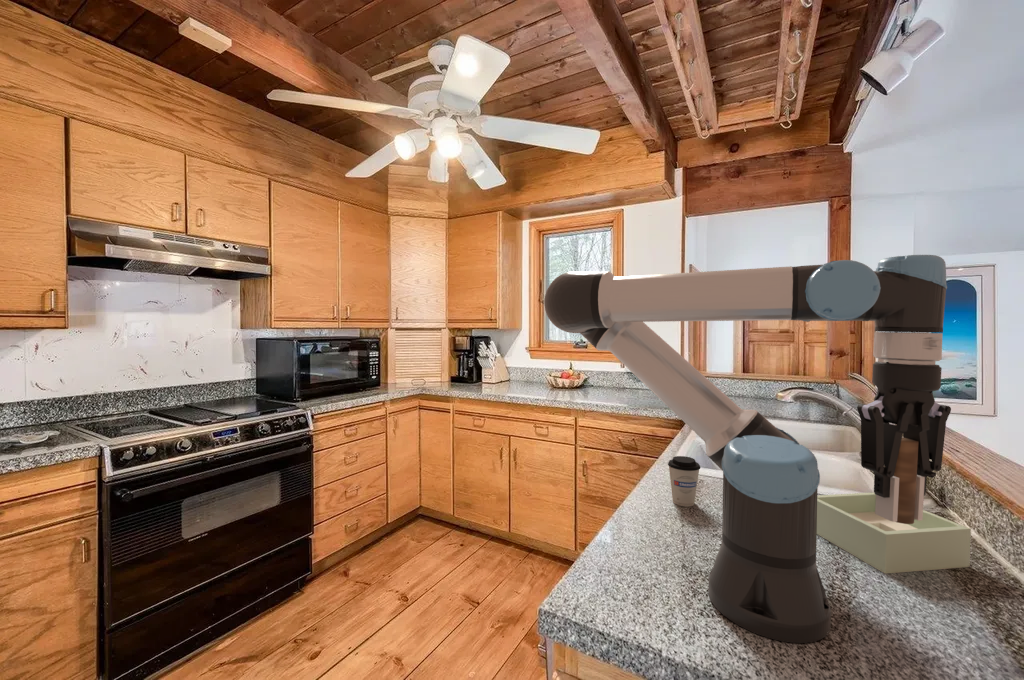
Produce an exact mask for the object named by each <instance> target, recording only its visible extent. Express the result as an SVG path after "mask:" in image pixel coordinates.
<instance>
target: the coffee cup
mask: <svg viewBox="0 0 1024 680" xmlns="http://www.w3.org/2000/svg"><path fill="white" fill-rule="evenodd" d="M667 465H668V469H669V470H668V471H669V478H670V488H671V489H670V490H671V497H672V502H673V503H674V504H675V505H677V506H679V507H680V506H681V507H686V508H687V507H689V508H690V507H693V506H695V501H696V494H697V488H698V487H697V486H698V481H699V475H700V474H699V472H700V469H701V465H700V463H699V462H696V459H695V458H694V457H690V456H684V455H678V456H677V455H676V456H673V457H672V459H669V461H668V463H667Z"/></svg>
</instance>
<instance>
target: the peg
mask: <svg viewBox="0 0 1024 680" xmlns="http://www.w3.org/2000/svg"><path fill="white" fill-rule="evenodd" d="M918 443H919V442H918V441H915V440H912V439H908V438H904V437H903V436H902V440H901V444H900V449H899V454H898V459H897V463H896V468H895V473H894V476H895V477H898V478H899V496H898V516H897V522H898V523H903V524H913V523H914V516H915V498H916V479H917V461H918Z"/></svg>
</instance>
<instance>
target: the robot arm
mask: <svg viewBox="0 0 1024 680" xmlns="http://www.w3.org/2000/svg"><path fill="white" fill-rule="evenodd" d="M947 289H948V285H947V266H946V261H945V259H944V258H943V257H941V256H940V255H935V254H908V255H900V256H899V255H898V256H891V257H890V256H889V257H884V258H883V259H880V260H879V261H878V262H877V267H876V268H875V270H873V269H872V268H871V267H869V265H867V264H864V263H862V262H860V261H856V260H853V259H852V260H850V259H842V260H832V261H829V262H826V263H823V264H811V265H800V266H790V265H789V266H776V267H775V266H774V267H760V268H759V267H758V268H744V269H743V268H742V269H726V270H724V269H723V270H710V271H707V270H706V271H694V272H693V271H692V272H676V273H675V272H674V273H661V274H659V273H658V274H643V275H629V276H625V275H624V276H615V275H614V274H613V273H612V272H611V271H606V270H605V271H578V270H577V271H576V270H572V271H568V272H567V271H566V272H564V273H561V274H560V275H558V276H557V277H556V278H555V279H553V280H552V282H550V284H549V286H548V288H547V289H546V292H545V295H544V299H543V301H544V303H543V305H544V311H545V314H546V316H547V318H548V319H549V321H550V322H551V323H552V325H554V326H555V327H556V328H558V329H559V330H560V331H564V332H566V333H569V334H580V335H581V336H582V337H583V338H584V339H586V341H587V342H589V343H590V345H592V346H593V347H594V348H595V350H597V351H605V352H606V351H608V352H610V353H611V354H612V355H613V356H614V357H615V358H616V359H617V360H618V361H619V362H620V363H621V364H623V365H624V366H625V367H626V368H627V369H628V370H629V371H630V372H631V373H632V374H633V375H634V376H635V377H636V378H638V380H639V381H641V383H642V384H644V385H645V387H647V389H649V390H650V391H651V392H652V393H653V394H654V395H655V396H656V397H657V398H658V399H659V400H661V402H663V404H664V405H665V406H667V407H668V408H669V409H670V411H672V412H673V413H674V414H675V415H676V416H677V417H678V418H679V419H680V420H681V421H683V423H684V424H685V425H686V426H688V427H689V428H690V429H691V430H692V431H693V432H694V433H695V434H696V435H697V436H698V437H699V438H700V439H701V440H702V441H704V444H705V455H706V456H707V457H708V458H709V459H710V461H712V462H713V463H714V464H715V465H716V466H717V467H718V468H719V469H720V470H721V471H722V514H721V515H722V518H721V519H722V520H721V521H722V523H721V525H722V526H721V536H722V538H721V545H720V547H719V549H718V551H717V555H716V557H715V560H714V563H713V566H712V569H711V570H710V571H709V574H708V591H707V592H708V597H709V600H710V601H711V603H712V604H713V606H714V607H715V608H716V610H717V611H718V612H719V613H721V614H722V615H723V616H724V617H725V618H726V619H728V620H729V621H731V622H733V623H734V624H735V625H738V626H739V627H741V628H743V629H745V630H748V631H749V632H751V633H754V634H756V635H759V636H762V637H765V638H767V639H771V640H776V641H780V642H786V643H797V644H798V643H799V644H803V643H805V644H806V643H813V642H818V641H820V640H822V639H824V638H826V637H827V636H828V635H829V633H830V632H831V626H832V624H831V623H832V620H831V619H832V610H831V605H830V602H829V600H828V598H827V594H826V591H825V588H824V585H823V582H822V578H821V576H820V572H819V570H818V567H817V544H818V543H817V540H818V539H817V537H818V534H817V495H818V490H819V489H818V488H819V484H820V481H821V480H820V479H821V475H820V470H819V465H818V460H817V457H816V456H815V454H814V453H813V452H812V451H811V449H809V448H808V447H806V446H805V445H803V444H800V442H798V440H797V439H796V438H795V437H793V436H792V435H791V434H790V433H788V432H786V431H785V430H783V429H780V428H778V427H777V426H775V425H774V424H773V423H771V421H769V420H768V419H767V418H766V417H764V416H763V415H762V414H761V413H760V412H759V411H758V410H756V409H743V408H741V407H739V405H738V404H736V403H735V401H733V400H732V399H731V398H730V397H729V396H728V395H726V394H725V393H724V392H722V391H721V389H719V387H717V386H716V385H715V384H713V382H711V380H709V379H708V378H707V377H706V376H705V375H704V374H702V373H701V372H700V371H699V370H698V369H697V368H695V366H693V365H692V363H690V362H689V361H688V360H687V359H686V358H684V357H683V356H682V355H681V354H680V353H679V352H677V351H676V350H675V349H674V348H673V347H672V346H671V345H670V344H668V342H667V341H665V340H664V339H663V338H662V337H661V336H659V335H658V334H657V332H655V331H654V330H653V329H651V327H650V326H648V325H647V324H646V323H650V322H652V323H653V322H658V323H659V322H725V321H726V322H730V321H731V322H734V321H735V322H739V321H741V322H742V321H743V322H744V321H747V322H748V321H750V322H751V321H752V322H753V321H798V322H799V321H800V322H807V323H808V322H853V321H854V322H858V321H859V322H860V321H861V322H874V332H873V333H874V335H873V353H872V356H873V357H874V358H875V359H877V361H874V363H873V364H872V375H871V376H872V377H871V378H872V379H871V380H872V384H873V385H874V386H876V388H877V391H876V393H875V396H874V399H873V400H874V401H872V402H870V403H867V404H864V403H859V404H858V405H857V406H856V407H857V408H856V409H857V413H858V415H859V417H860V461H861V462H860V465H861V468H863V469H866V470H868V471H871V472H873V475H874V476H873V478H874V479H873V480H874V481H873V492H874V493H875V494H876V505H875V514H877V515H879V516H881V517H883V518H885V519H888V520H890V521H892V522H897V516H898V496H899V478H898V477H895V476H894V473H895V468H896V463H897V459H898V454H899V449H900V444H901V440H902V437H903V438H908V439H912V440H915V441H918V442H919V443H918V461H917V479H916V498H915V516H914V519H916V520H918V521H920V520H923V510H924V501H925V499H924V498H925V496H926V492H927V477H929V478H931V479H934V478H935V477H936V476H937V472H940V471H941V470H942V463H943V455H944V447H945V445H944V444H945V438H946V436H945V435H946V429H947V428H946V427H947V425H946V424H947V422H948V419H949V416H950V414H951V411H952V408H951V406H950V405H944V404H940V403H938V402H936V401H935V399H936V398H935V397H934V394H933V392H937V391H939V390H940V388H942V387H941V386H942V367H941V366H940V365H939V364H936V362H940V361H941V360H942V358H943V356H942V355H943V354H942V353H943V333H944V321H945V320H944V319H945V307H946V294H947ZM934 471H935V472H934Z"/></svg>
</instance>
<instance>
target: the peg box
mask: <svg viewBox="0 0 1024 680" xmlns="http://www.w3.org/2000/svg"><path fill="white" fill-rule="evenodd" d="M875 505H876V494H875V493H874V491H872V492H859V493H858V492H855V493H839V494H819V495H818V494H817V536H819V537H821V538H823V539H825V540H826V541H828V542H830V543H831V544H833V545H834V546H837V547H839V548H841V549H842V550H843V551H845V552H847V553H849V554H850V555H851V556H854V557H855V558H857V559H859V560H861V561H862V562H864V563H866V564H867V565H869V566H871V567H873V568H875V569H876V570H878V571H879V572H881V573H883V574H886V575H887V574H897V573H899V574H901V573H911V572H922V571H924V572H926V571H934V570H947V569H948V570H949V569H950V570H951V569H958V568H960V569H961V568H970V564H971V562H970V561H971V559H970V558H971V536H972V535H971V533H972V528H971V527H967V526H965V525H962V524H960V523H958V522H955V521H952V520H950V519H947V518H945V517H942V516H940V515H938V514H934V513H932V512H929V511H927V510H925V509H923V520H920V521H918V520H916V519H914V523H913V524H903V523H898V522H892V521H890V520H888V519H885V518H883V517H881V516H879V515H877V514H875Z"/></svg>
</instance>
